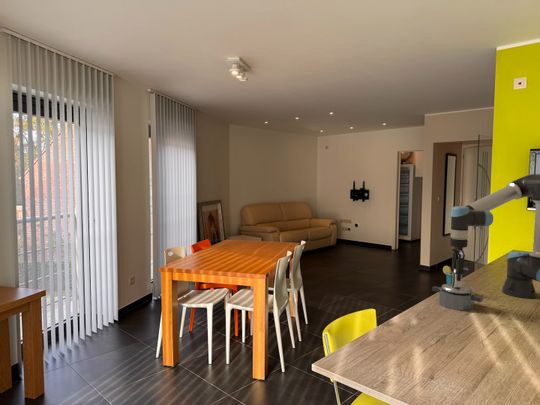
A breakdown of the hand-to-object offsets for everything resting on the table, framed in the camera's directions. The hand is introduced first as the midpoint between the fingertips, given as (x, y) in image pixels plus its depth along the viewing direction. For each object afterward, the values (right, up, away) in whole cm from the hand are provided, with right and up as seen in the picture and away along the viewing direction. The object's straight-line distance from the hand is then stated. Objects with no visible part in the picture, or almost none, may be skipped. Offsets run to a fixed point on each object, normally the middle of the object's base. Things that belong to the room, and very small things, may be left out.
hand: (456, 285), depth 180 cm
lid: (0, -2, 0) cm, 2 cm away
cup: (+9, -9, +20) cm, 23 cm away
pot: (0, -10, +1) cm, 10 cm away
